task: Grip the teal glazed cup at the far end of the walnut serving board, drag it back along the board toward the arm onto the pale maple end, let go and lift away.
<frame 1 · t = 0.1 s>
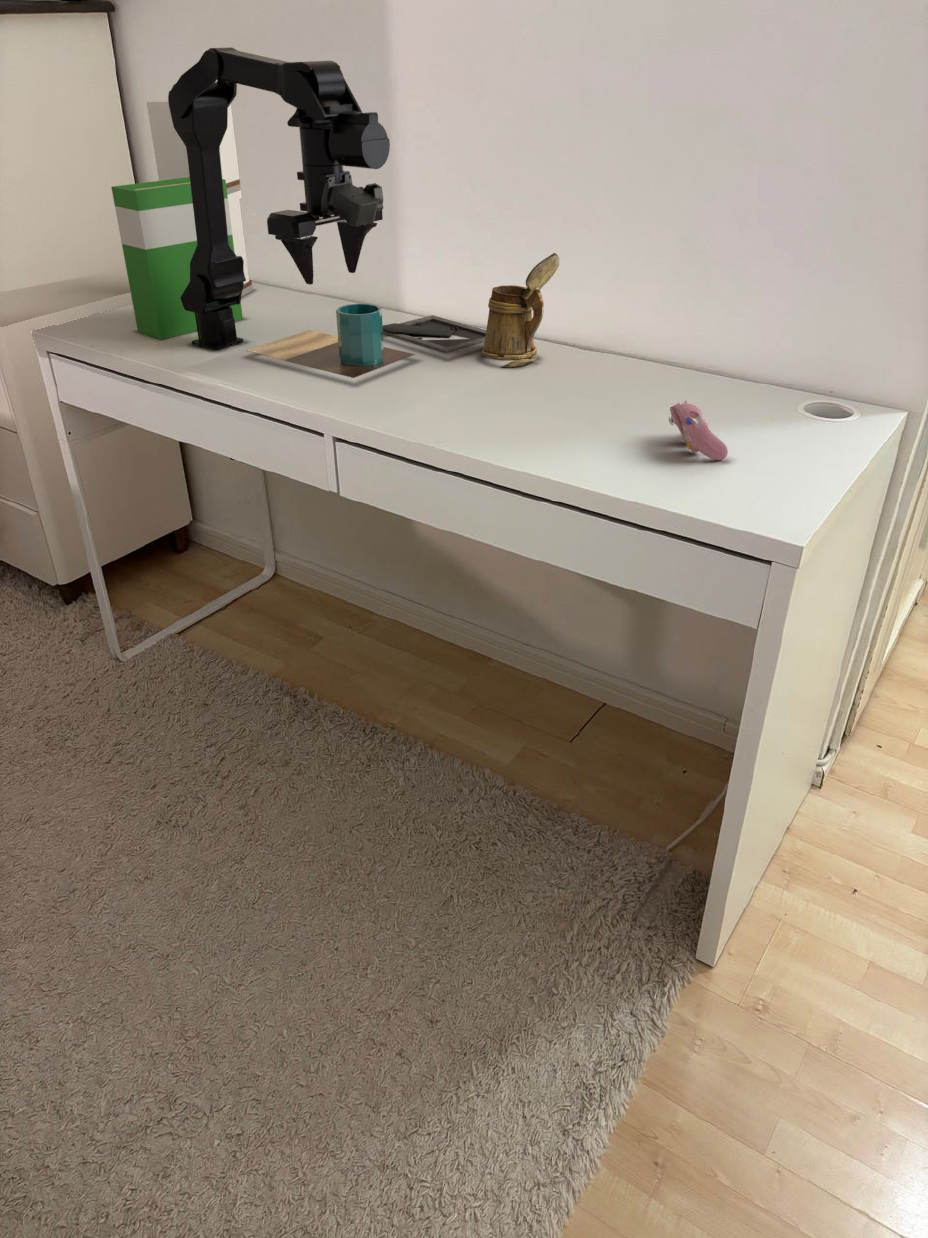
hand: (331, 278, 142), 15 cm above the table, tool pointing down, fingers open, 9 cm apart
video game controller: (694, 449, 124), on the table
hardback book: (191, 326, 174), on the table
serving board: (330, 359, 157), on the table
wooden mug: (518, 363, 155), on the table
teal cup: (361, 359, 153), point 1 cm above the table, touching serving board
picture frame: (439, 341, 166), on the table
tall upright white panel: (216, 295, 194), on the table
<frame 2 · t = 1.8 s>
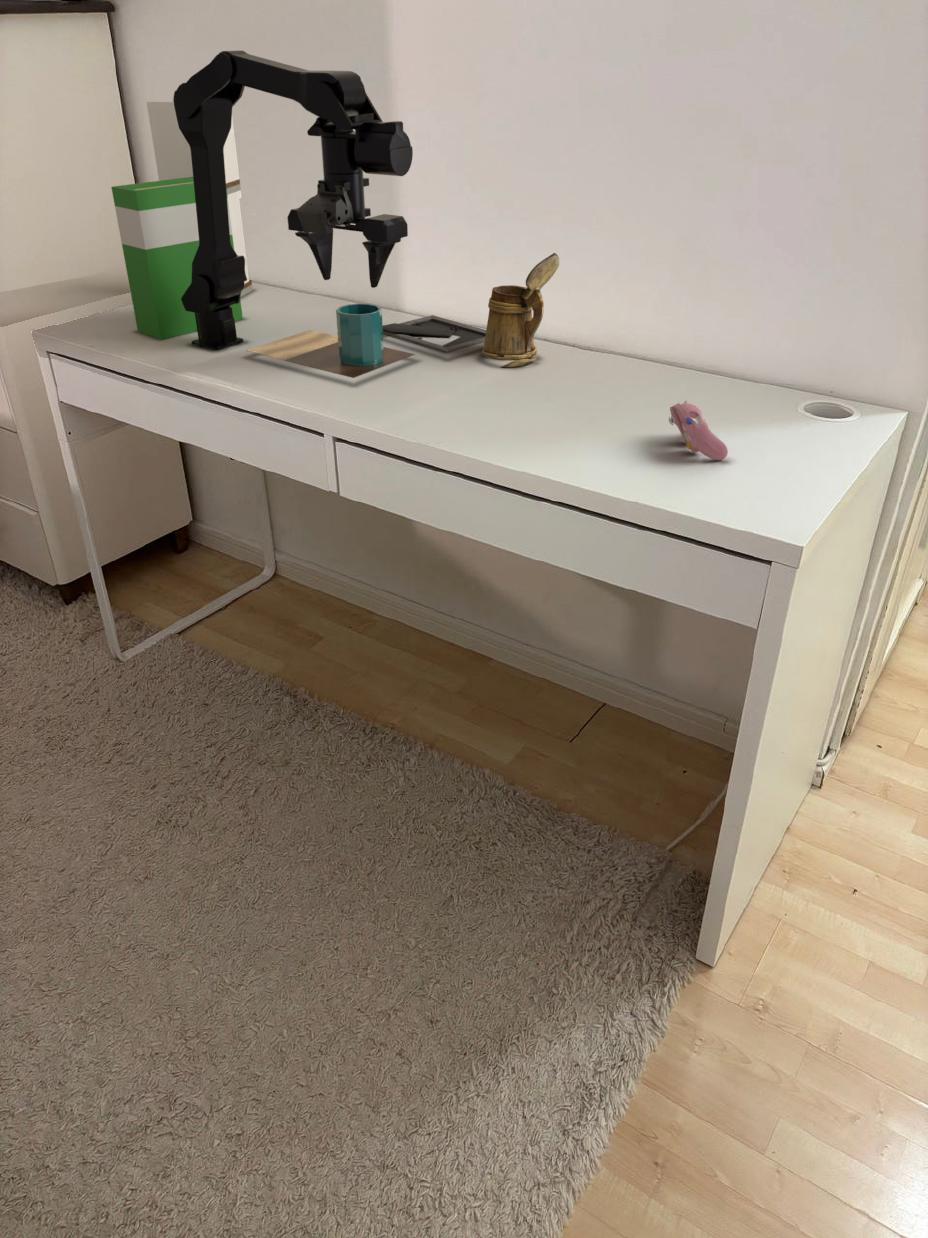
hand: (350, 283, 145), 13 cm above the table, tool pointing down, fingers open, 9 cm apart
nothing on the table moved.
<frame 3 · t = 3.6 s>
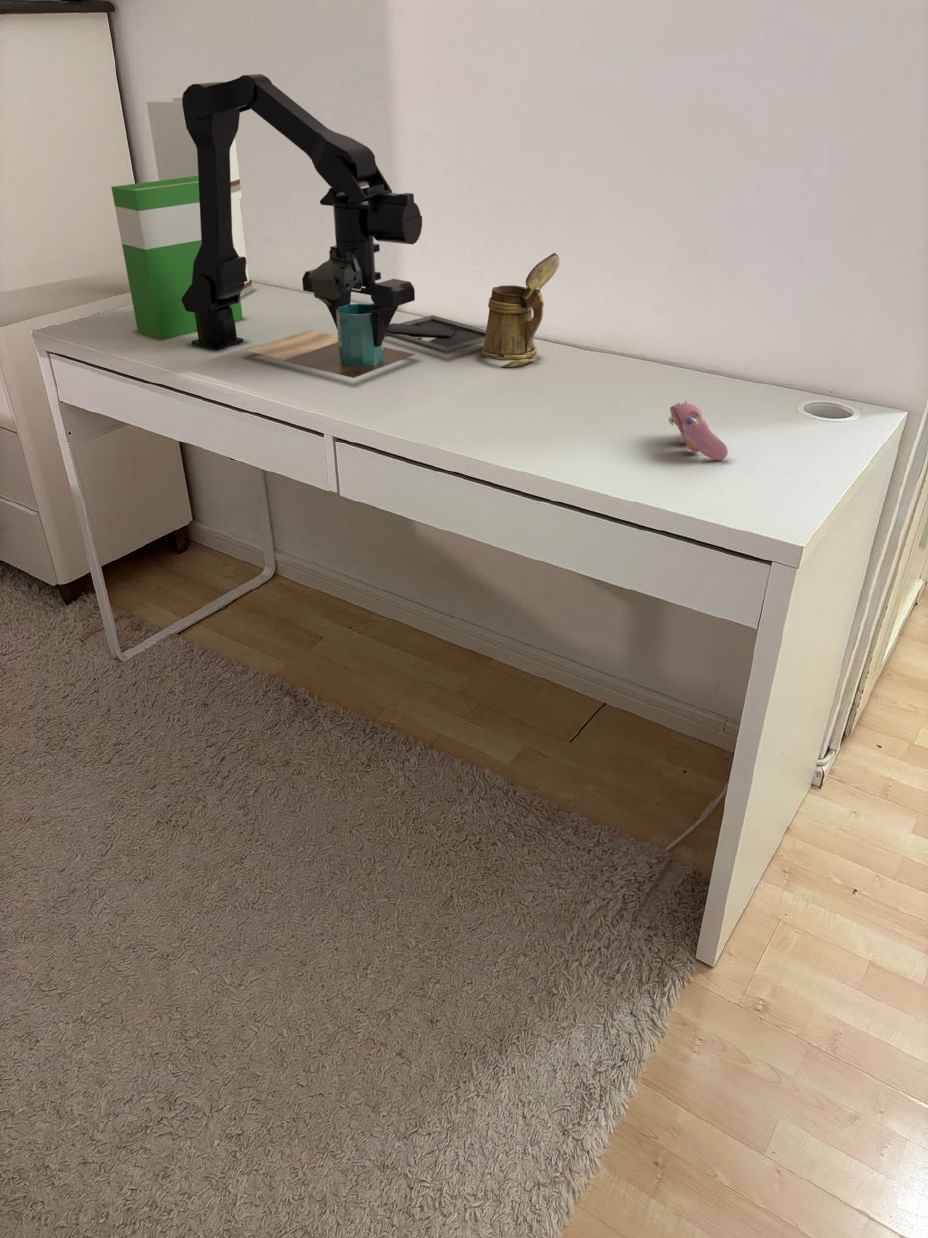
hand: (360, 342, 151), 4 cm above the table, tool pointing down, fingers closed on teal cup, 7 cm apart
teal cup: (361, 359, 153), point 1 cm above the table, touching gripper, serving board
everything else where it was.
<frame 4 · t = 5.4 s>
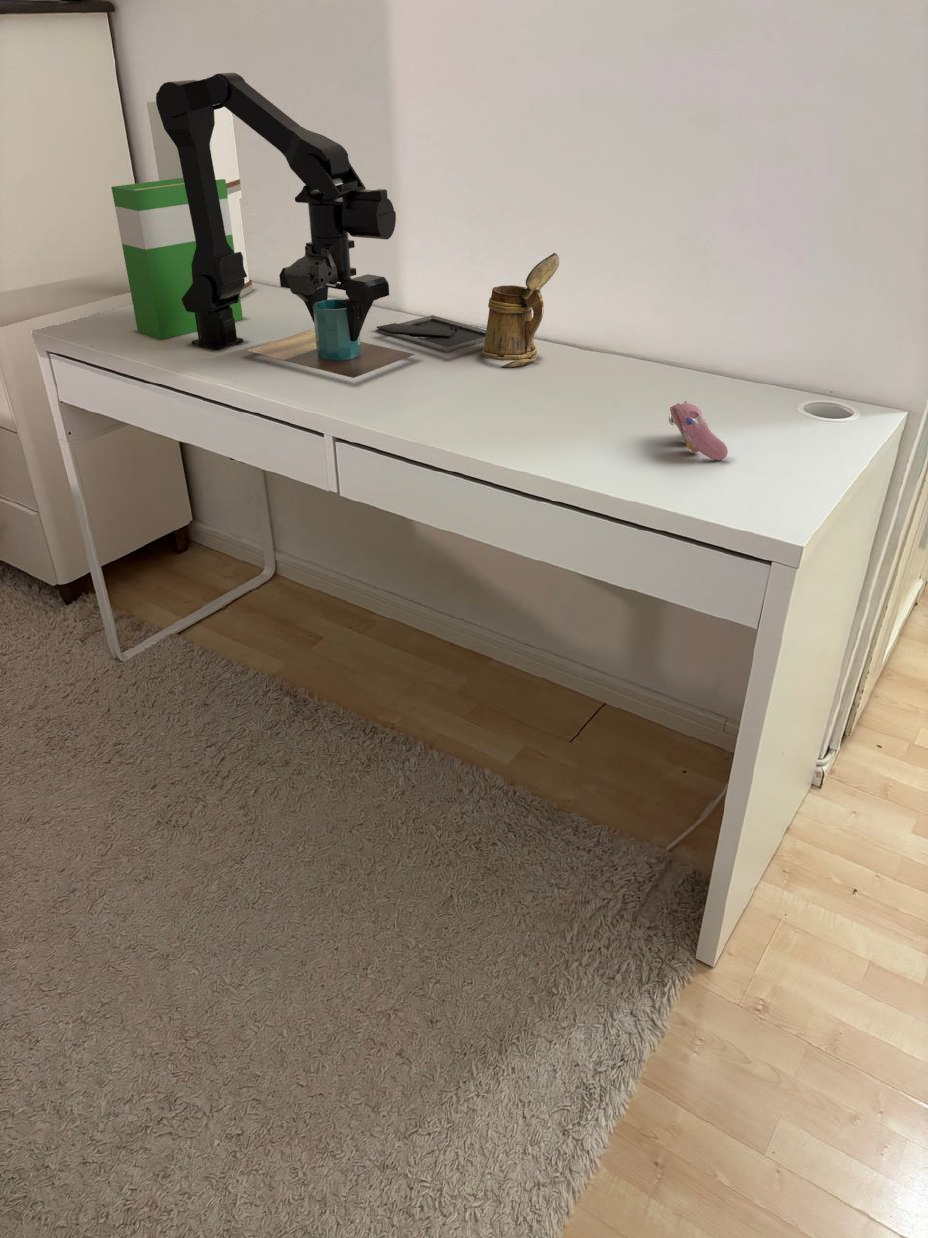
hand: (337, 337, 154), 4 cm above the table, tool pointing down, fingers closed on teal cup, 7 cm apart
teal cup: (339, 354, 155), point 1 cm above the table, touching gripper
everything else where it was.
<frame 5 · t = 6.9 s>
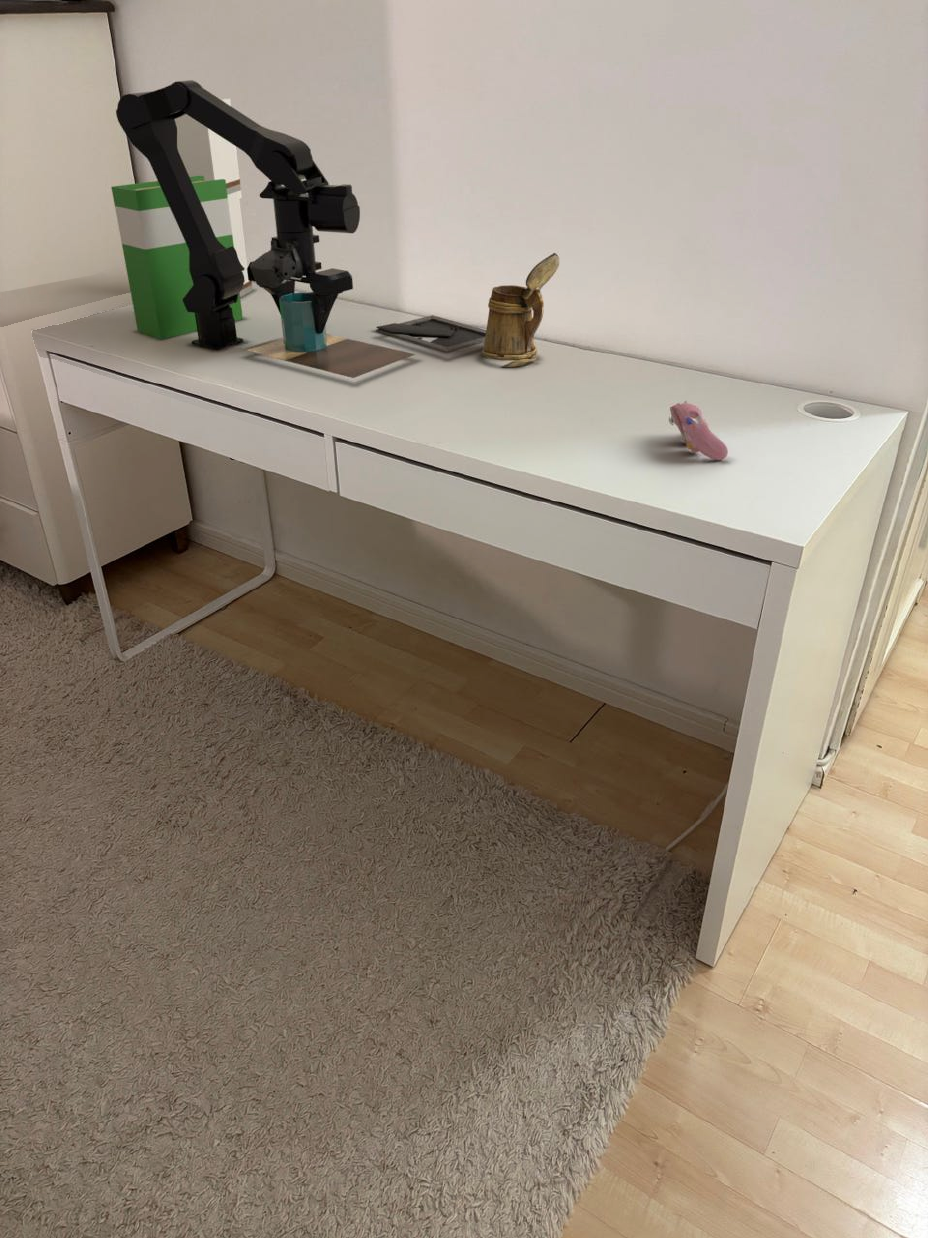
hand: (303, 329, 157), 4 cm above the table, tool pointing down, fingers closed on teal cup, 7 cm apart
teal cup: (305, 346, 159), point 1 cm above the table, touching gripper
everything else where it was.
when the fingers open (4 cm above the table, at t = 7.6 s): teal cup stays where it is, resting on serving board.
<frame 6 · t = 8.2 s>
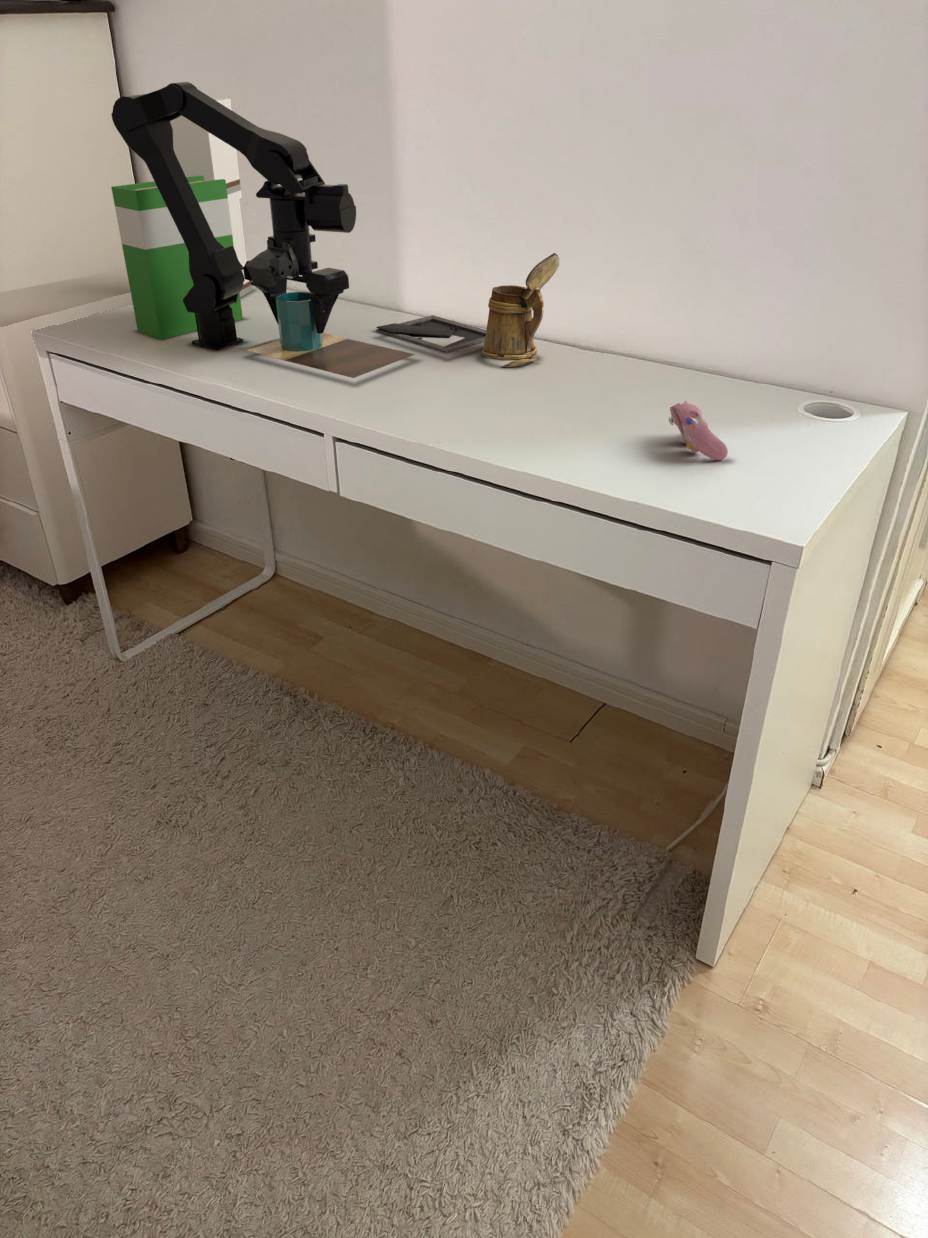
hand: (300, 328, 158), 4 cm above the table, tool pointing down, fingers open, 9 cm apart
teal cup: (302, 345, 159), point 1 cm above the table, touching serving board
everything else where it was.
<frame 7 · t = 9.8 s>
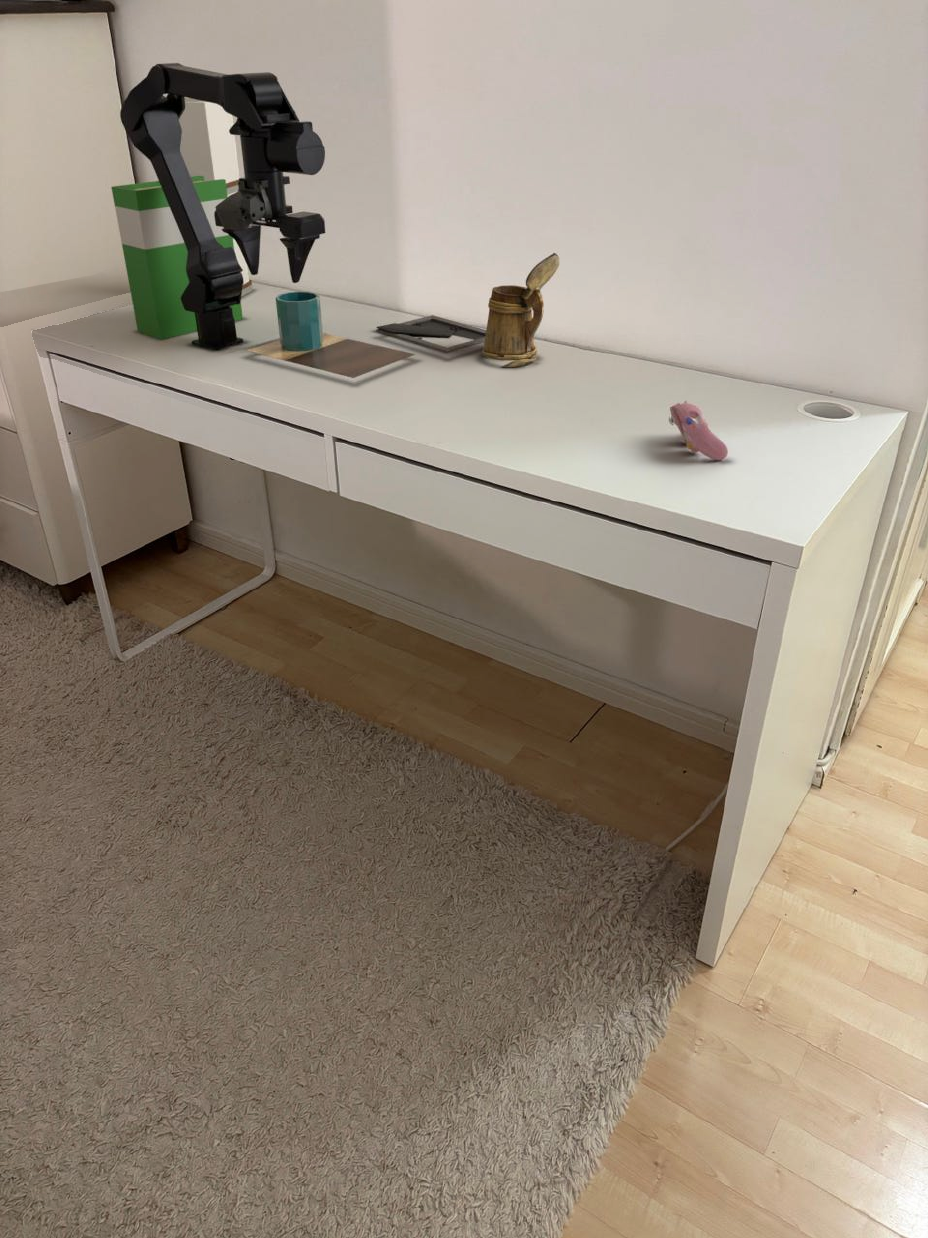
hand: (274, 278, 149), 13 cm above the table, tool pointing down, fingers open, 9 cm apart
nothing on the table moved.
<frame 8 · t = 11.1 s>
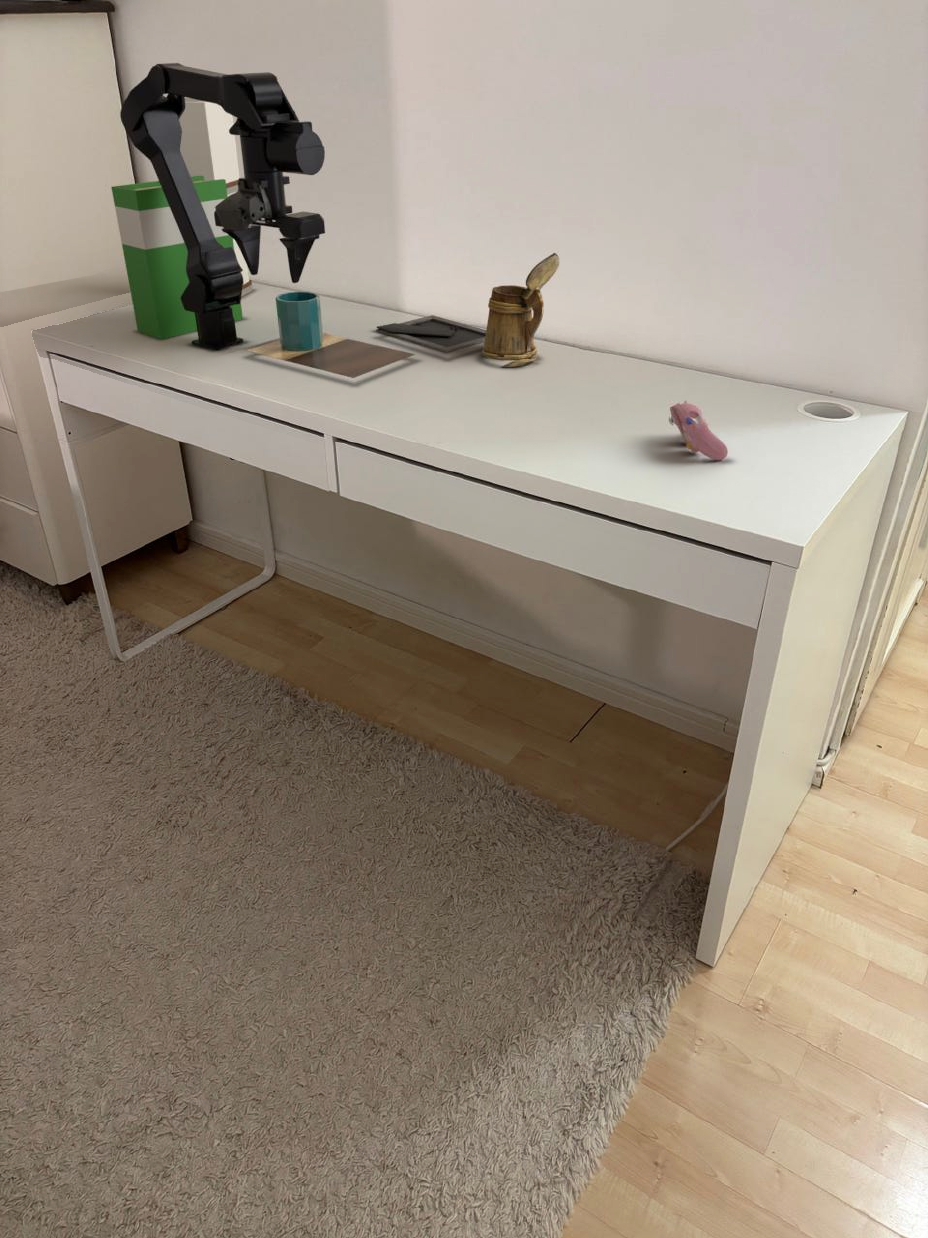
hand: (274, 278, 149), 13 cm above the table, tool pointing down, fingers open, 9 cm apart
nothing on the table moved.
at the end: teal cup inside the target area (0.1 cm from its centre), point 1.2 cm above the table; teal cup tilted 0°; the gripper is holding nothing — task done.
